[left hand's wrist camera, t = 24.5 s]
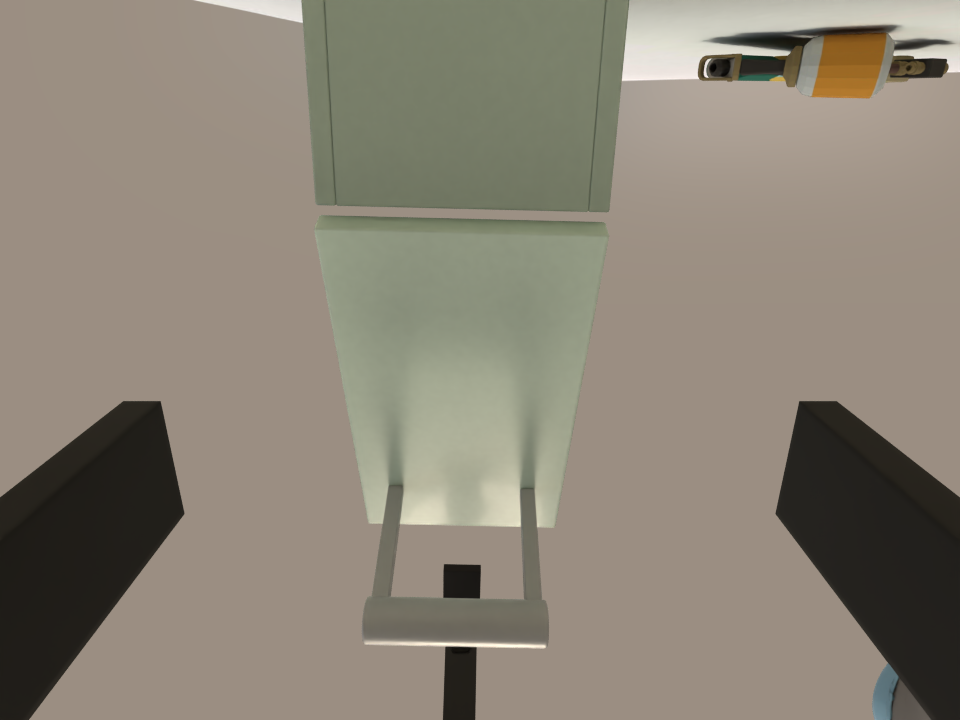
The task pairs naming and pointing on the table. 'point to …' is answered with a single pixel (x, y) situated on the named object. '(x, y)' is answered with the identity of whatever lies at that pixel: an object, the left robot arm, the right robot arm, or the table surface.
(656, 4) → the table surface
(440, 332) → the lid
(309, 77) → the chest
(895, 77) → the spray gun
